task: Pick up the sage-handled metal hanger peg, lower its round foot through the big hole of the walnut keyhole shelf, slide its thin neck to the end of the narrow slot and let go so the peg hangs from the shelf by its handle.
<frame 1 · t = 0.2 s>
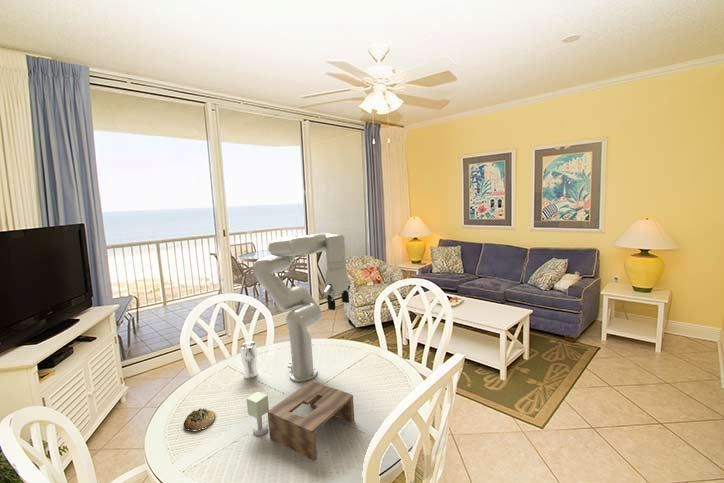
hand: (339, 305, 140), 37 cm above the table, tool pointing down, fingers open, 9 cm apart
marbled vase: (251, 375, 160), on the table
keyhole shelf: (313, 429, 121), on the table
hanger peg: (260, 430, 121), on the table
bread roll: (200, 423, 128), on the table
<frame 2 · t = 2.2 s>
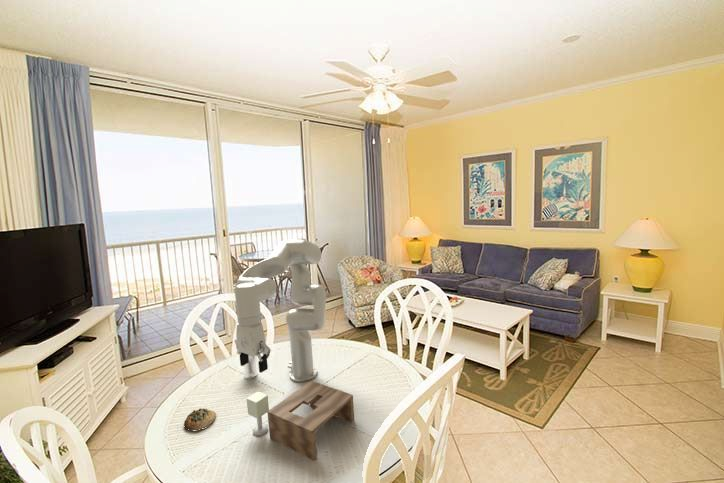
hand: (254, 367, 118), 24 cm above the table, tool pointing down, fingers open, 9 cm apart
nothing on the table moved.
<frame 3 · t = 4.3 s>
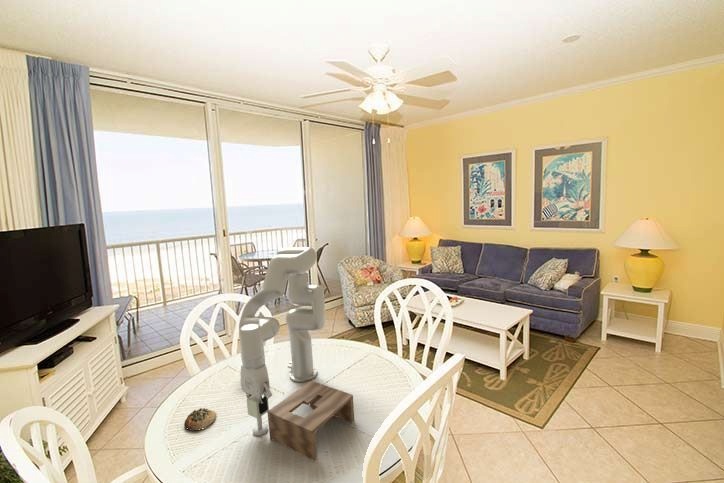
hand: (258, 408, 120), 8 cm above the table, tool pointing down, fingers closed on hanger peg, 5 cm apart
hanger peg: (260, 430, 121), on the table, touching gripper
everything else where it was.
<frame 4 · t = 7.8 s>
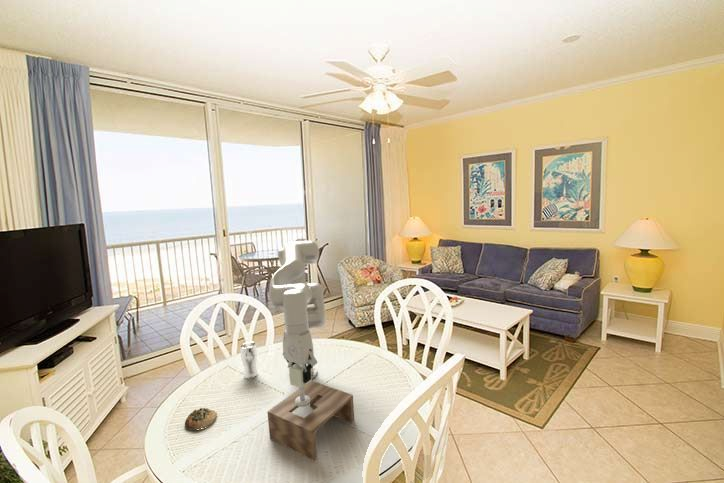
hand: (301, 378, 114), 21 cm above the table, tool pointing down, fingers closed on hanger peg, 5 cm apart
hanger peg: (302, 402, 115), point 13 cm above the table, touching gripper
everything else where it was.
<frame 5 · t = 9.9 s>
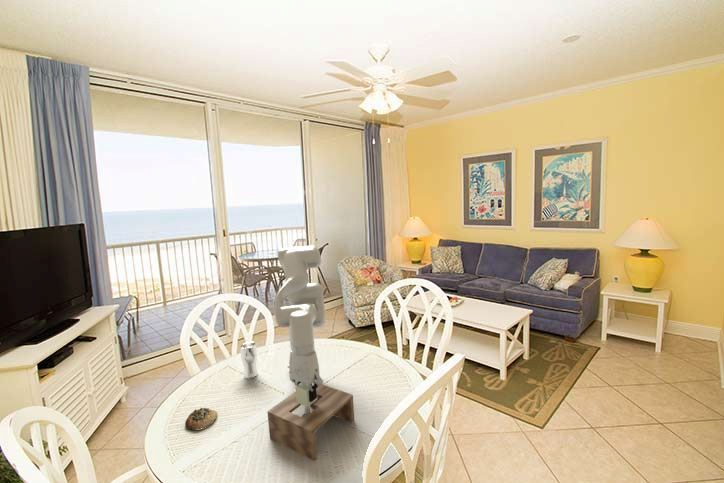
hand: (306, 396, 118), 13 cm above the table, tool pointing down, fingers closed on hanger peg, 5 cm apart
hanger peg: (308, 419, 119), point 5 cm above the table, touching gripper
everything else where it was.
when the fingers open (12 cm above the table, at t = 11.8 s): hanger peg stays where it is, resting on keyhole shelf.
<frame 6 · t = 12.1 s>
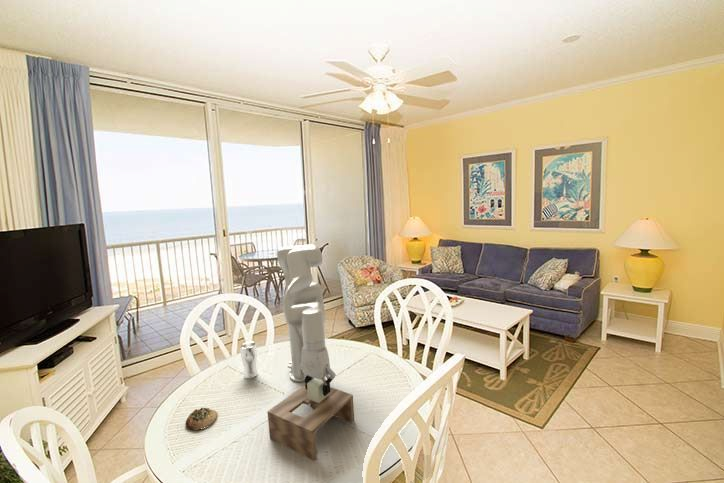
hand: (317, 390, 122), 13 cm above the table, tool pointing down, fingers open, 7 cm apart
hanger peg: (319, 415, 123), point 3 cm above the table, touching keyhole shelf
everything else where it was.
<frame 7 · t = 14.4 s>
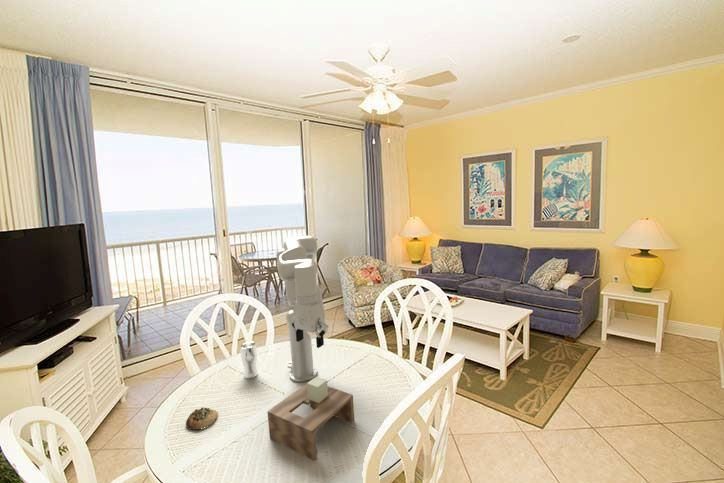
hand: (310, 343, 124), 28 cm above the table, tool pointing down, fingers open, 9 cm apart
nothing on the table moved.
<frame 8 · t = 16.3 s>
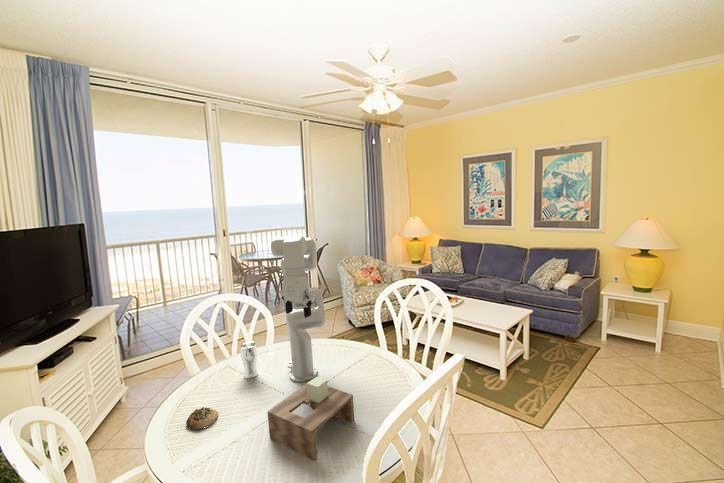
hand: (298, 314, 133), 36 cm above the table, tool pointing down, fingers open, 9 cm apart
nothing on the table moved.
at the end: hanger peg 0.1 cm from the target spot on the keyhole shelf, point 3.0 cm above the keyhole shelf's base; hanger peg touching keyhole shelf; hanger peg tilted 0° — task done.
